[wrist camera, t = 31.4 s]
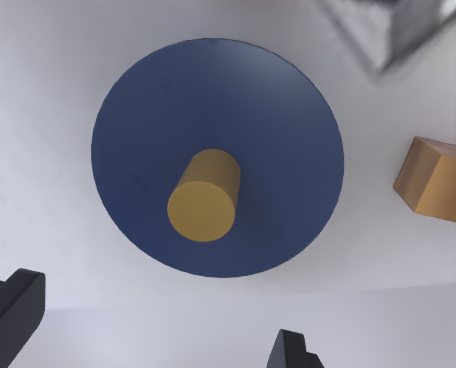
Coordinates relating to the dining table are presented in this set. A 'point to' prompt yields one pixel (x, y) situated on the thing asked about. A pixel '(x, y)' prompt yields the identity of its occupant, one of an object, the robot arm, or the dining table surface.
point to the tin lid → (217, 157)
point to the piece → (429, 179)
